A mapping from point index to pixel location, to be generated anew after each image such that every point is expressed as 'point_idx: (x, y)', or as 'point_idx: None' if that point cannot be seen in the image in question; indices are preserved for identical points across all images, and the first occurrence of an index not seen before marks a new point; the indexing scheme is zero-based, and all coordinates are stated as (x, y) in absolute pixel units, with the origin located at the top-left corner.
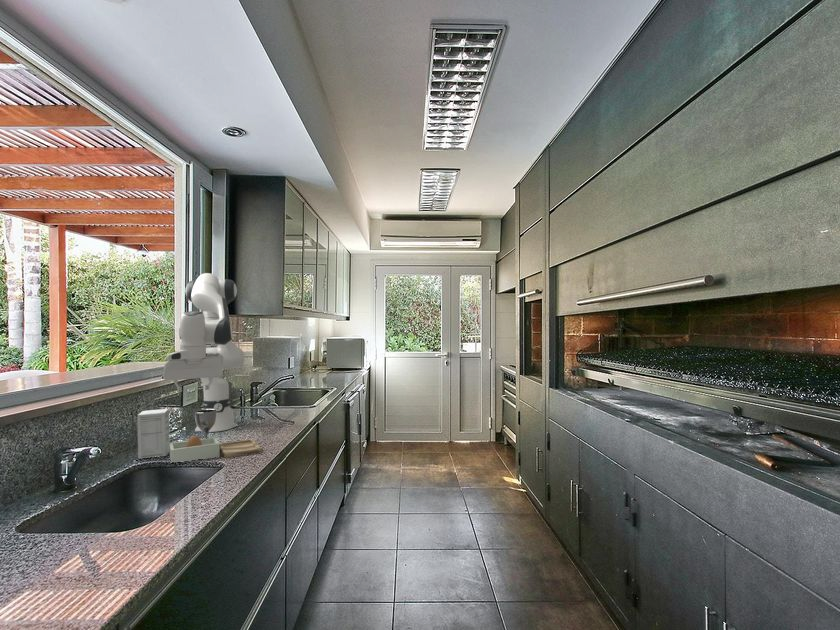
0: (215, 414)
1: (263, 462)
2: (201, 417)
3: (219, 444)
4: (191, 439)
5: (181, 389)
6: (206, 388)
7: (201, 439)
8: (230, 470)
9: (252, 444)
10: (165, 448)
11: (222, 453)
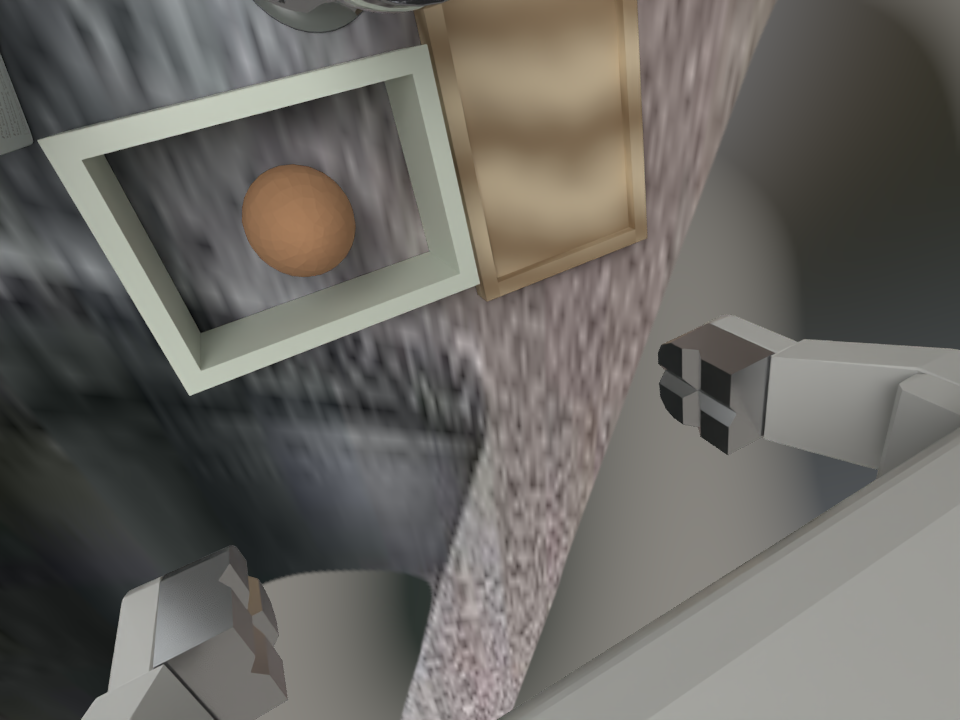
0: None
1: (623, 392)
2: (356, 4)
3: None
4: (298, 270)
5: (271, 654)
6: (691, 417)
7: (325, 95)
8: (514, 476)
9: (616, 60)
10: (12, 150)
11: None
